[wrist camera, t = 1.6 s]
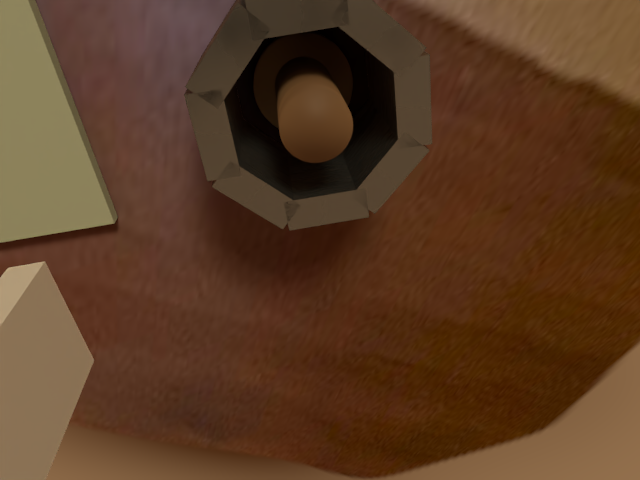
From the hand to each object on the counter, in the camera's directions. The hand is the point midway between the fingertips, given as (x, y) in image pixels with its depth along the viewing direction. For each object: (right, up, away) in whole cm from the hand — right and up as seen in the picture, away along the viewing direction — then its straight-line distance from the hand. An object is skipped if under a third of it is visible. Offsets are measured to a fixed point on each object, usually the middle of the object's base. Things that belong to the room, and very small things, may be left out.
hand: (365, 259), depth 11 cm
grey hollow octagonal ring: (-2, +9, +17) cm, 19 cm away
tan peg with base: (-2, +9, +17) cm, 19 cm away
